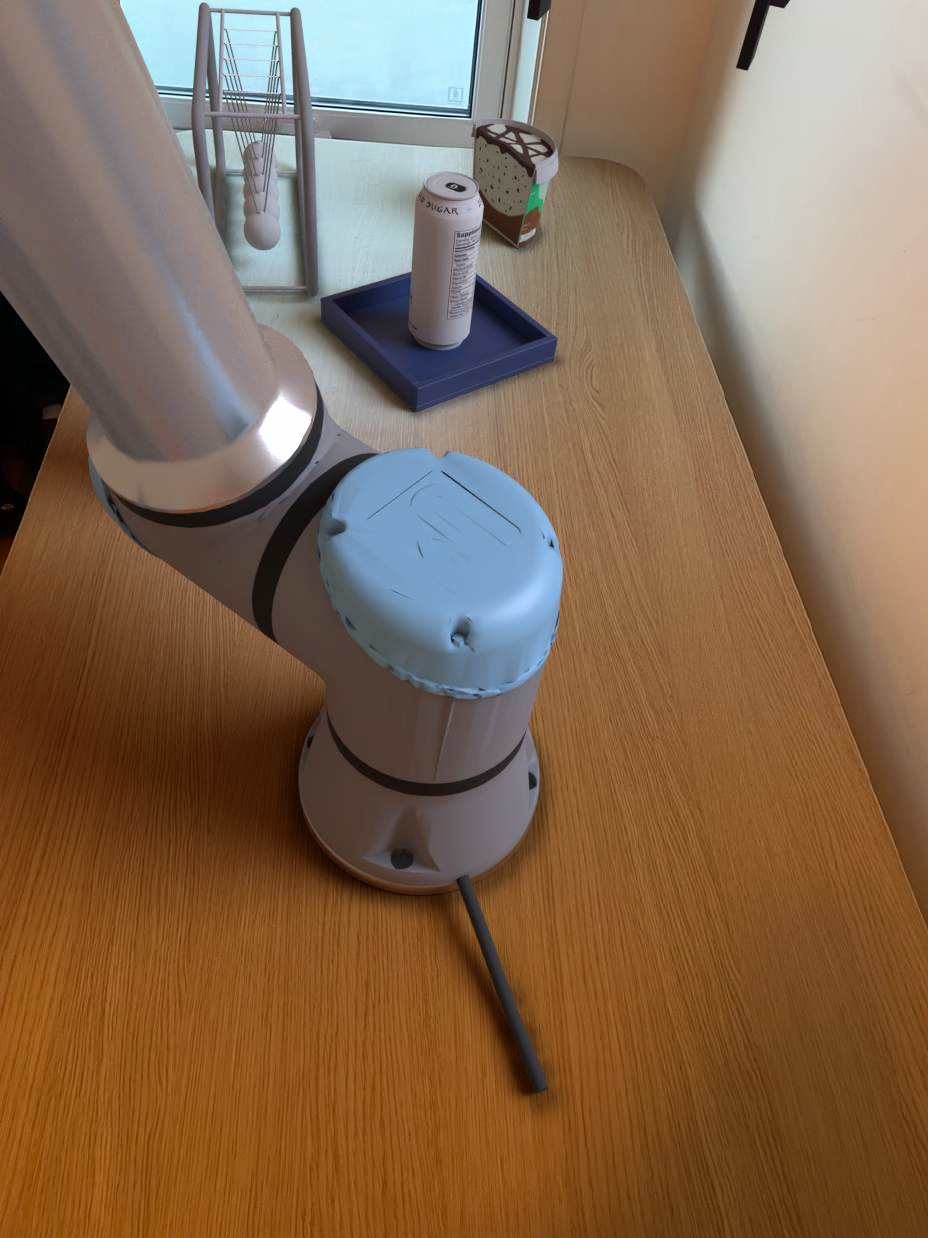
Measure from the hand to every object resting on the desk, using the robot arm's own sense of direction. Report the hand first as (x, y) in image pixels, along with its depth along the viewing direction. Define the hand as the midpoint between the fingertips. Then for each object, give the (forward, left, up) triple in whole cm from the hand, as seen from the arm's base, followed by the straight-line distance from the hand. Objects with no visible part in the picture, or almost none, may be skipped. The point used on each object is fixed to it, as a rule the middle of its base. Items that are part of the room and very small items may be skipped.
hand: (639, 38), depth 59 cm
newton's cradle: (+44, +5, -33) cm, 55 cm away
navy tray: (+18, 0, -33) cm, 37 cm away
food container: (+33, -22, -33) cm, 52 cm away
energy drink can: (+18, 0, -32) cm, 37 cm away
